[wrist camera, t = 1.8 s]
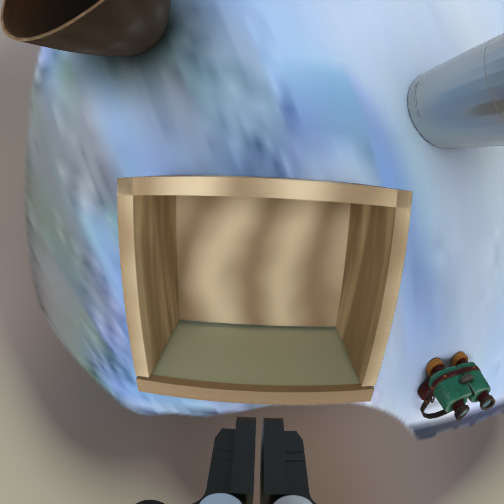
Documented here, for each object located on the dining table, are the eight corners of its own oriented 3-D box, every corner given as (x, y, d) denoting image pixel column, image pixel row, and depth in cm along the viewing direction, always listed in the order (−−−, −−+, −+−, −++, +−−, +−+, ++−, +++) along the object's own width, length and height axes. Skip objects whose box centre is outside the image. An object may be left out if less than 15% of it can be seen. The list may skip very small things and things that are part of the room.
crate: (360, 183, 30) (412, 191, 19) (343, 322, 34) (374, 385, 22) (168, 175, 31) (117, 178, 19) (171, 315, 34) (135, 375, 23)
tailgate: (343, 326, 34) (374, 389, 22) (341, 336, 34) (370, 400, 23) (171, 318, 34) (136, 378, 23) (172, 328, 35) (138, 391, 23)
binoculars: (431, 453, 28) (457, 408, 25) (408, 402, 38) (424, 354, 35) (479, 435, 28) (508, 388, 25) (454, 390, 38) (472, 343, 34)
